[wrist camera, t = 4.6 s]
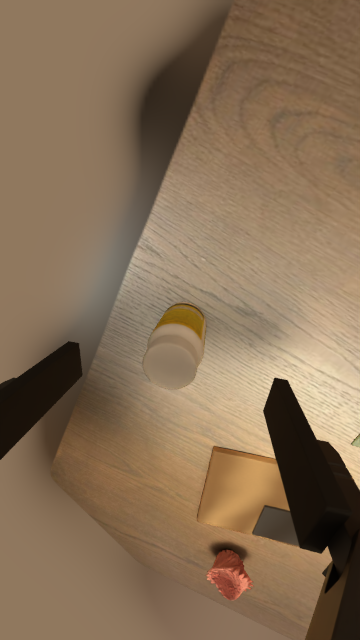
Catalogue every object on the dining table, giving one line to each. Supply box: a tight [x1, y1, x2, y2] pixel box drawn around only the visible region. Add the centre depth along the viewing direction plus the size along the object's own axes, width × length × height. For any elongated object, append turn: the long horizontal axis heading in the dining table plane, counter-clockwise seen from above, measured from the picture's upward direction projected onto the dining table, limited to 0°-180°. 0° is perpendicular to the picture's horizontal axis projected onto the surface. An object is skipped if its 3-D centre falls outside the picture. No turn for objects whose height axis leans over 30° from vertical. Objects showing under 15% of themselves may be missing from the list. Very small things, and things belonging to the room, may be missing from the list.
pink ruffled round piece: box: [206, 549, 253, 600], centre depth 36 cm, size 8×8×6 cm
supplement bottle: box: [143, 302, 206, 389], centre depth 18 cm, size 5×5×8 cm
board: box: [197, 446, 355, 547], centre depth 31 cm, size 18×18×1 cm
